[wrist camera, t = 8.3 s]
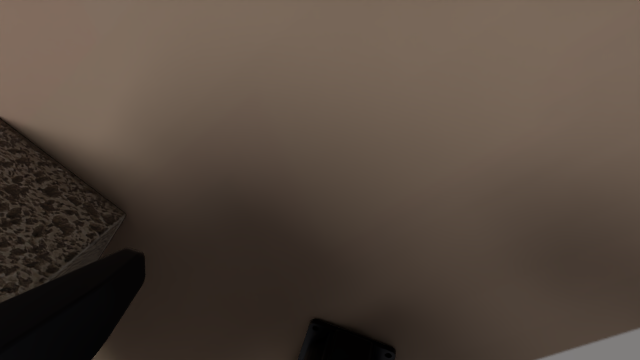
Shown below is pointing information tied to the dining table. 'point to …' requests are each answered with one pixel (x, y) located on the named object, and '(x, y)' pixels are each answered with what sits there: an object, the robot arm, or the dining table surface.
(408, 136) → the dining table surface
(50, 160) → the lamp
